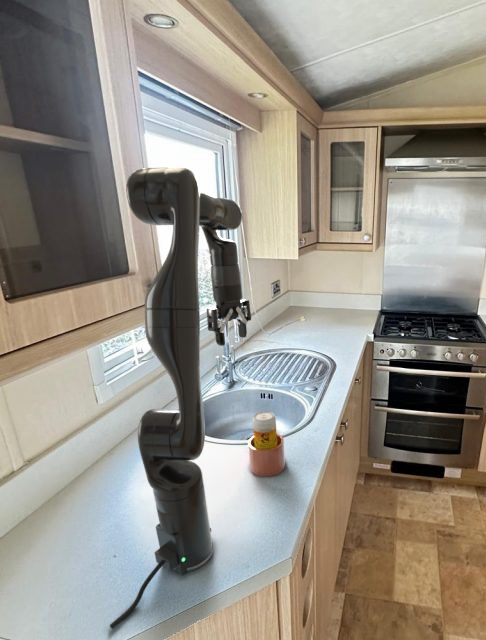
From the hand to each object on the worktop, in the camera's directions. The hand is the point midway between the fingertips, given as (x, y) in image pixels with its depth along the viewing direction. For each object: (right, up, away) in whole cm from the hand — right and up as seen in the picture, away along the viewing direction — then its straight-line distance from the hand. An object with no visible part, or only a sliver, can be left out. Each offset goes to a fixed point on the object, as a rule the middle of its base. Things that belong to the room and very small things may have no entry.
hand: (232, 340), depth 113 cm
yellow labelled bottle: (+10, -34, +1) cm, 36 cm away
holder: (+10, -35, +1) cm, 36 cm away
